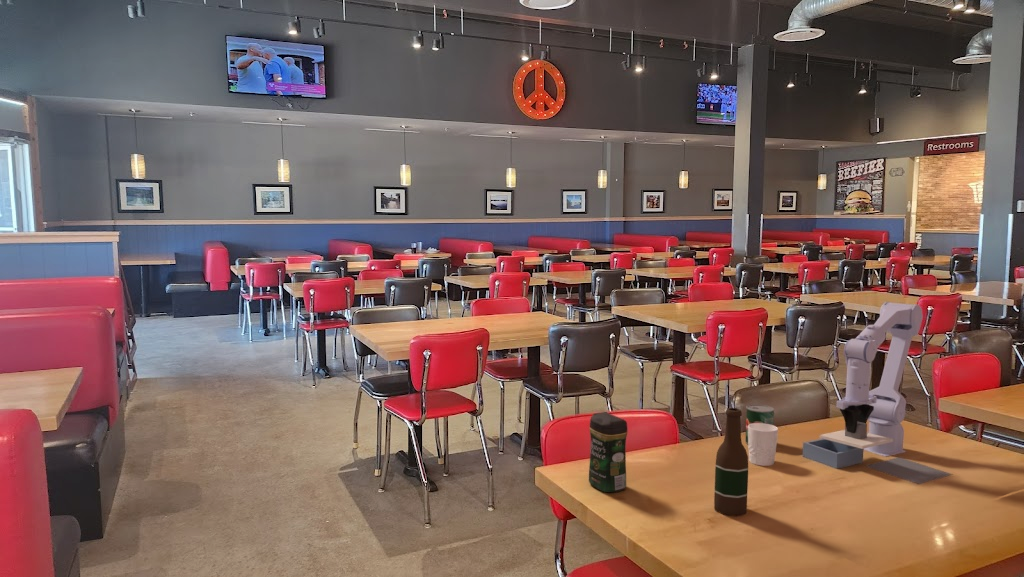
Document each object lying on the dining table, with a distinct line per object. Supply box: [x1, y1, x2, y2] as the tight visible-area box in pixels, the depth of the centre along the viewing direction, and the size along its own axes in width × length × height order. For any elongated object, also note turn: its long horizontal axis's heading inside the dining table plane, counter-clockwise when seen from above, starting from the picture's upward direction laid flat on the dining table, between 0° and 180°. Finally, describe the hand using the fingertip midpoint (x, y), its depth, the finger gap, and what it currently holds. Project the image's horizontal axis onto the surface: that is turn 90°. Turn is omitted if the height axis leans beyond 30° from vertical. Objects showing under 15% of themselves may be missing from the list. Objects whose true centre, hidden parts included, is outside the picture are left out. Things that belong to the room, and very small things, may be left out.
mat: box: [865, 457, 953, 485], centre depth 190 cm, size 15×15×1 cm
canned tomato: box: [744, 404, 775, 445], centre depth 212 cm, size 8×8×11 cm
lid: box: [819, 421, 893, 449], centre depth 194 cm, size 13×13×5 cm
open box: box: [802, 438, 865, 470], centre depth 198 cm, size 11×11×4 cm
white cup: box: [747, 423, 779, 467], centre depth 196 cm, size 8×8×10 cm
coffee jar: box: [588, 411, 628, 493], centre depth 177 cm, size 10×8×19 cm
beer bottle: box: [713, 407, 749, 517], centre depth 163 cm, size 8×8×24 cm
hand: (855, 431), depth 194 cm, fingers closed on lid, 3 cm apart
